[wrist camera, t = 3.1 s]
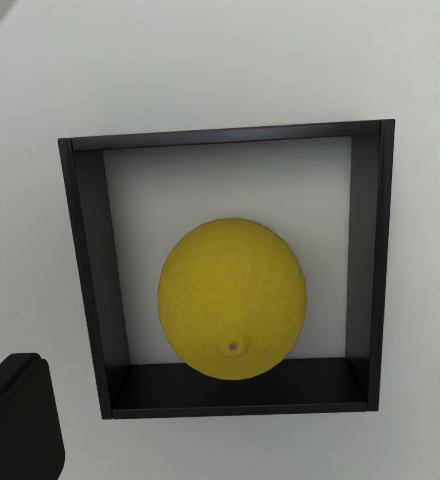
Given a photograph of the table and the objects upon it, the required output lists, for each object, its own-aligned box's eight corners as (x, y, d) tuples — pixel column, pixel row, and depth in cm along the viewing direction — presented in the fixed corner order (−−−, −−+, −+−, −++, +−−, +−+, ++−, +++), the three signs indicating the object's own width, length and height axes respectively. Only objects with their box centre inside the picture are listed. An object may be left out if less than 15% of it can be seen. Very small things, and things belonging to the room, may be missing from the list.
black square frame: (122, 373, 21) (101, 420, 18) (89, 136, 18) (56, 138, 15) (354, 365, 21) (379, 411, 17) (363, 120, 17) (395, 118, 14)
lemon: (267, 325, 20) (290, 448, 12) (160, 293, 20) (116, 399, 12) (306, 221, 19) (359, 288, 11) (191, 186, 18) (163, 229, 11)
